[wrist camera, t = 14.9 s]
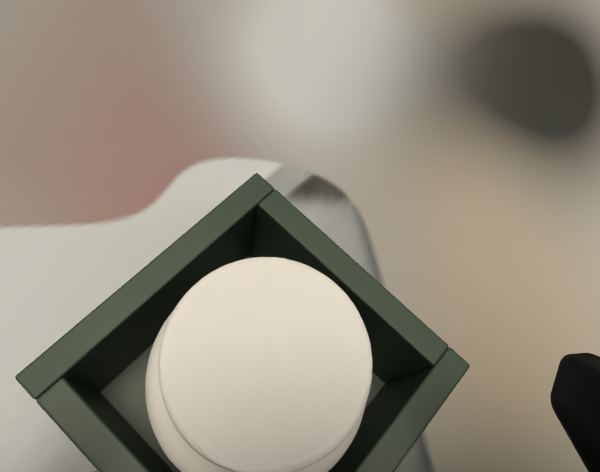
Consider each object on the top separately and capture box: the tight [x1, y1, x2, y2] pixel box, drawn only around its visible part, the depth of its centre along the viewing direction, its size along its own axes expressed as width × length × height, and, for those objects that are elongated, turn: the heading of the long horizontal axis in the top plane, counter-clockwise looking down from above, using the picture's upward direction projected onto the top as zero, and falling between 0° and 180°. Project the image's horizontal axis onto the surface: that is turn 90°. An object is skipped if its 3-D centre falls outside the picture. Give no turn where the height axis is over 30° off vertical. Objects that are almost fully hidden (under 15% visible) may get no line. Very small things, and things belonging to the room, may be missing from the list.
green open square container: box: [16, 173, 470, 472], centre depth 15 cm, size 9×9×5 cm
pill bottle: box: [145, 257, 373, 472], centre depth 13 cm, size 5×5×9 cm
